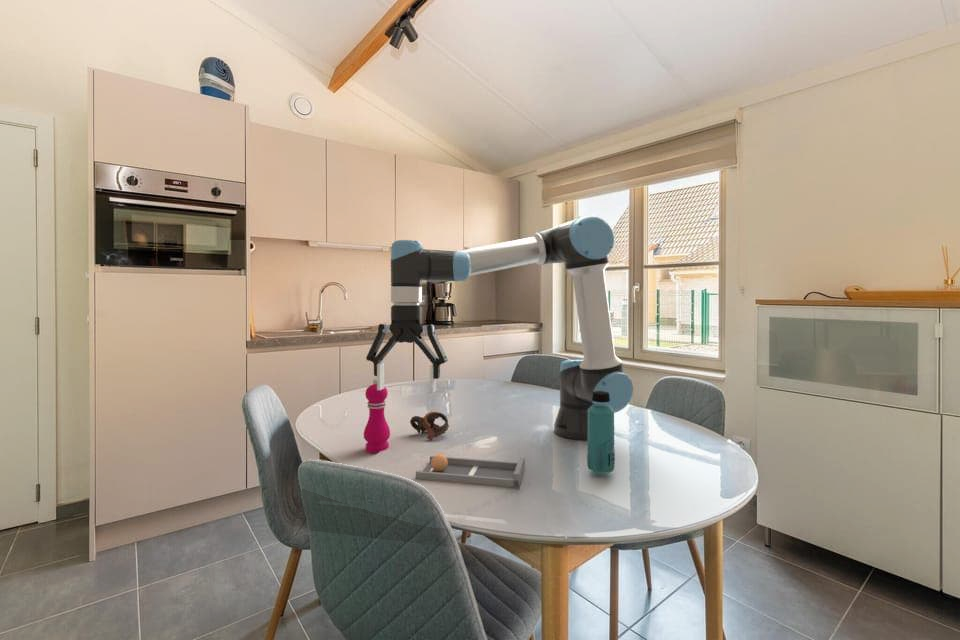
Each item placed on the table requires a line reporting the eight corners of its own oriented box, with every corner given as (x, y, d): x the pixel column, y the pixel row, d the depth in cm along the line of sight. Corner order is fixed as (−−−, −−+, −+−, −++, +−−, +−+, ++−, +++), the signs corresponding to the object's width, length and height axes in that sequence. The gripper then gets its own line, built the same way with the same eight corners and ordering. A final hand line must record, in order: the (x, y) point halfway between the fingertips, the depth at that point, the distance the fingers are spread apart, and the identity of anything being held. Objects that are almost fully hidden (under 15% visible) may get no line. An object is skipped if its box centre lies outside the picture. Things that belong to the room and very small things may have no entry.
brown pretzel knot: (446, 431, 144) (452, 412, 140) (442, 453, 136) (448, 433, 132) (410, 422, 144) (415, 403, 139) (403, 443, 135) (408, 424, 131)
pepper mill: (367, 455, 120) (366, 382, 119) (361, 447, 127) (360, 377, 126) (393, 451, 124) (392, 379, 123) (386, 444, 130) (385, 375, 129)
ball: (449, 468, 110) (449, 452, 110) (444, 474, 106) (444, 458, 106) (434, 467, 111) (433, 451, 110) (428, 473, 107) (428, 456, 107)
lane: (524, 471, 110) (524, 456, 109) (518, 490, 99) (519, 474, 99) (430, 463, 115) (430, 449, 114) (415, 480, 104) (415, 465, 104)
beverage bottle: (610, 482, 103) (611, 395, 102) (582, 475, 107) (583, 392, 106) (617, 472, 109) (619, 390, 108) (591, 467, 112) (592, 387, 111)
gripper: (459, 304, 111) (459, 389, 112) (366, 303, 116) (366, 385, 117) (451, 305, 103) (451, 396, 104) (352, 304, 109) (352, 391, 110)
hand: (406, 390), depth 111 cm, fingers open, 13 cm apart
